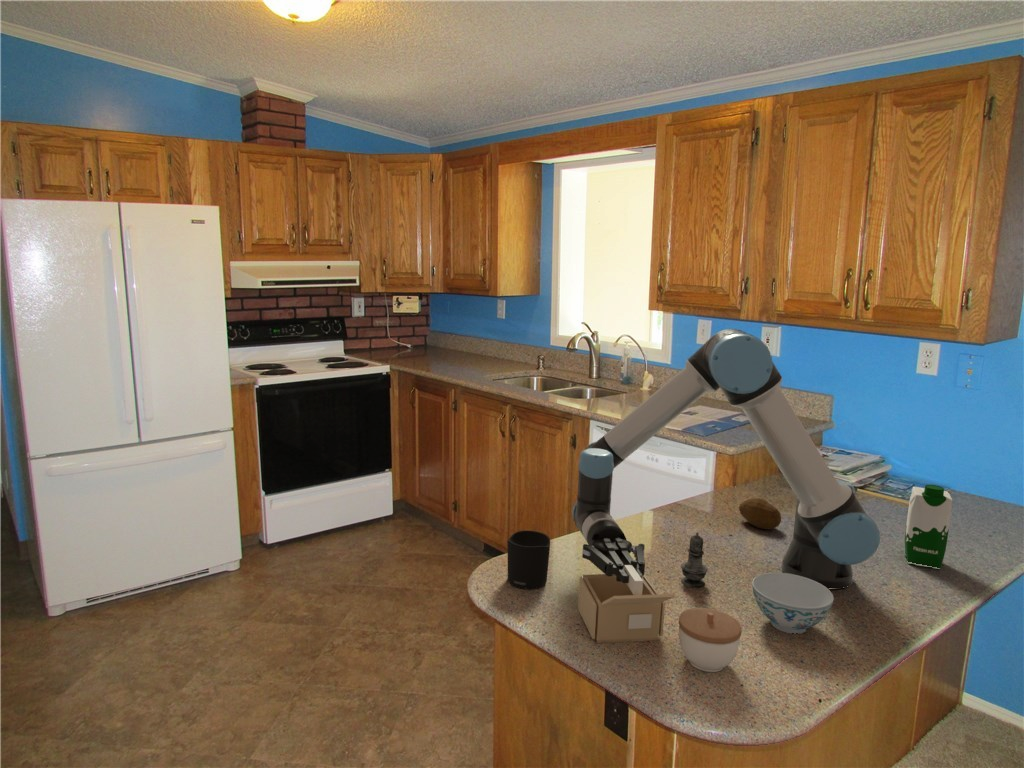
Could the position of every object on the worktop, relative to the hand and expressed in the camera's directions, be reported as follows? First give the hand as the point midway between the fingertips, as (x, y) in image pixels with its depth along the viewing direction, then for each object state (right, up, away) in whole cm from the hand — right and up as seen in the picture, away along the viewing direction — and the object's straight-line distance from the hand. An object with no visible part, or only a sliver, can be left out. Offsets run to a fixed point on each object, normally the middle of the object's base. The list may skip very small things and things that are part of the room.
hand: (638, 588), depth 120 cm
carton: (-1, -11, +14) cm, 18 cm away
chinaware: (+33, -12, +16) cm, 39 cm away
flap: (0, -5, +7) cm, 8 cm away
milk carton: (+80, -9, +50) cm, 95 cm away
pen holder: (-19, -8, +31) cm, 37 cm away
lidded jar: (+12, -14, +2) cm, 19 cm away
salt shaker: (+19, -9, +34) cm, 39 cm away
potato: (+47, -4, +70) cm, 85 cm away
